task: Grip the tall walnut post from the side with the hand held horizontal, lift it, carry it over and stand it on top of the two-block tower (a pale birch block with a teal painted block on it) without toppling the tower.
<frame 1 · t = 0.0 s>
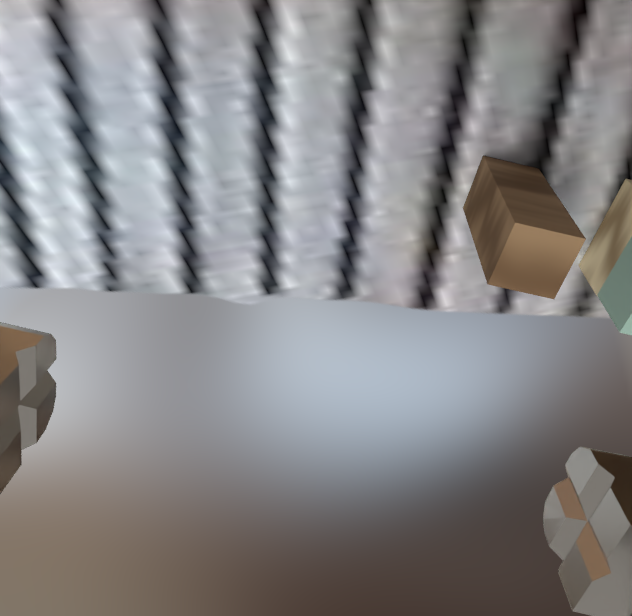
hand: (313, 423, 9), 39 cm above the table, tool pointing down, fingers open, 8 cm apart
walnut post: (499, 188, 47), on the table
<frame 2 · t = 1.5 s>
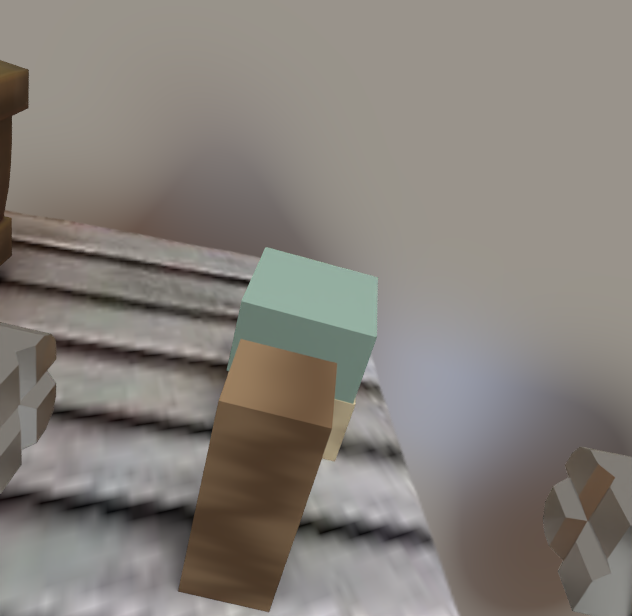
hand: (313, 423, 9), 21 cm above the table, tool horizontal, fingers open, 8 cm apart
walnut post: (232, 561, 31), on the table
lower block: (283, 409, 42), on the table, touching upper block
upper block: (298, 351, 40), point 5 cm above the table, touching lower block
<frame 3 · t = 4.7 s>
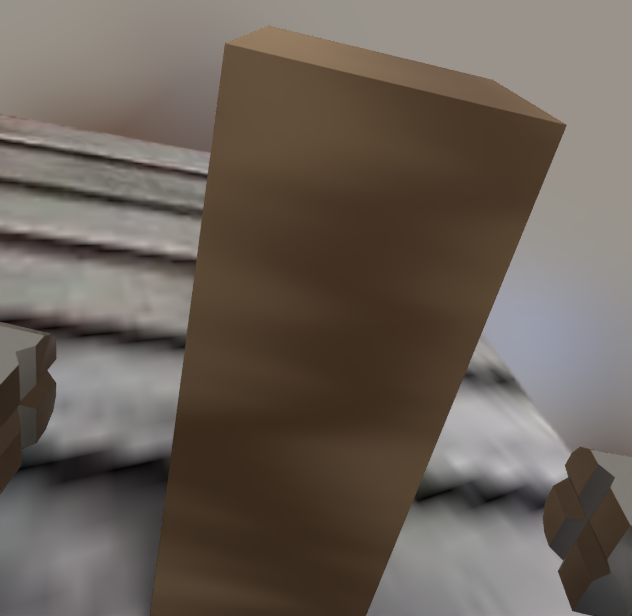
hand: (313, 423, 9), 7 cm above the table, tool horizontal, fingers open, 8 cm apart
walnut post: (262, 557, 15), on the table
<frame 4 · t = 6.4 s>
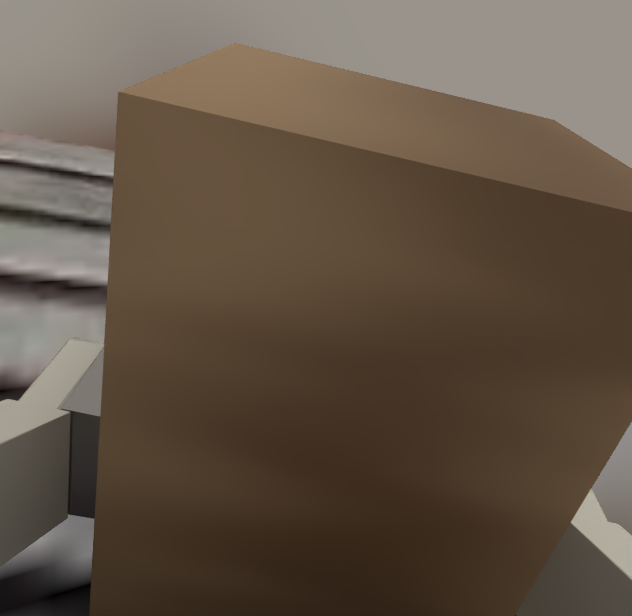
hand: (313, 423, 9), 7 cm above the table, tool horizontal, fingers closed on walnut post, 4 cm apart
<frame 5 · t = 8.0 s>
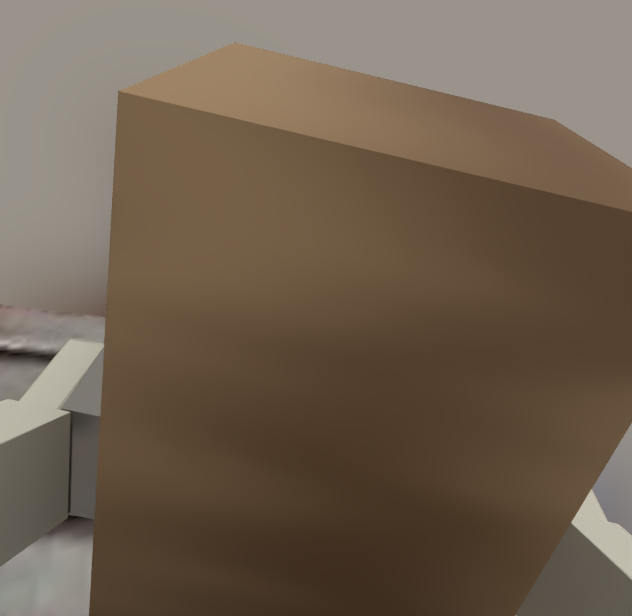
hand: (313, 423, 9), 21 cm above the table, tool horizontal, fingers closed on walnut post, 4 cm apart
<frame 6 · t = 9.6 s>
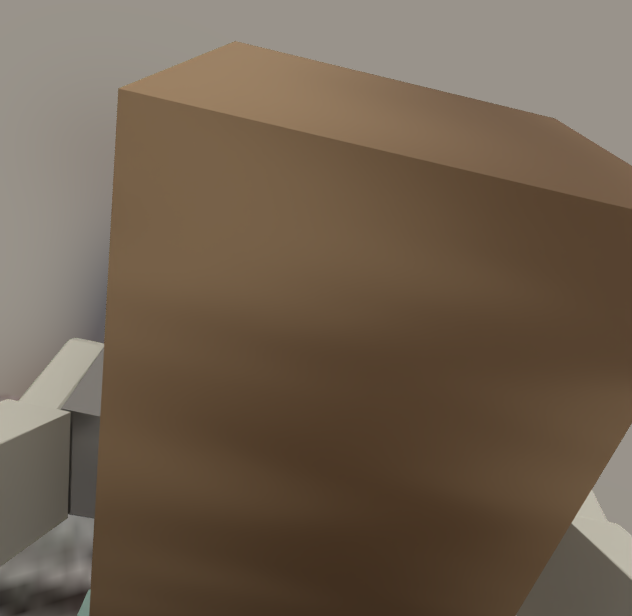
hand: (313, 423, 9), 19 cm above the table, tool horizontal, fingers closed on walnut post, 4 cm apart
when the fingers open (18 cm above the table, at t = 10.2 s): walnut post drops 1 cm, resting on upper block.
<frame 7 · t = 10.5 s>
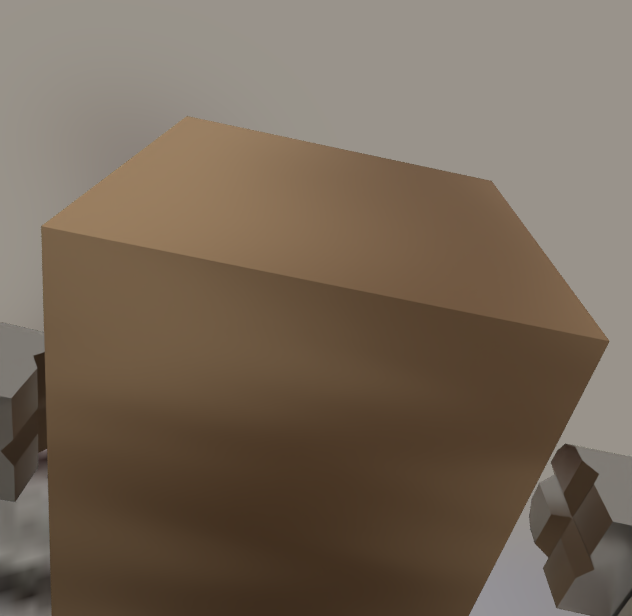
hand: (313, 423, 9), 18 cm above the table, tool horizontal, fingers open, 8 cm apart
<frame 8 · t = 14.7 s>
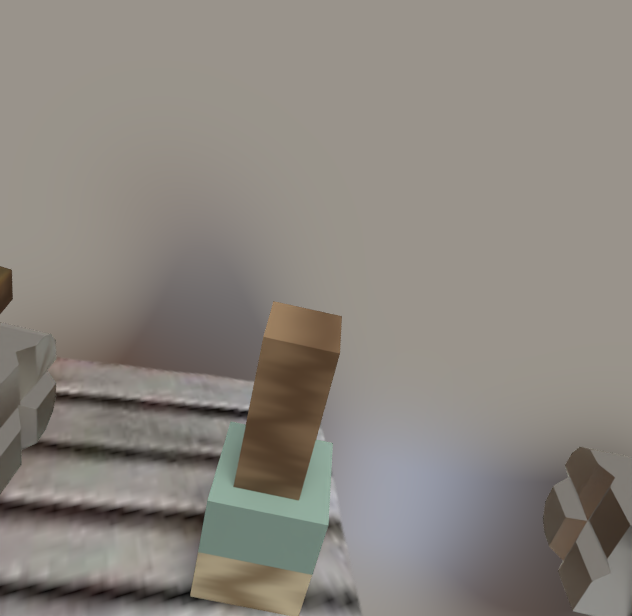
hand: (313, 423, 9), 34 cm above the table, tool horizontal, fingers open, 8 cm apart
walnut post: (270, 470, 42), point 10 cm above the table, touching upper block
lower block: (252, 561, 47), on the table, touching upper block
upper block: (263, 518, 44), point 5 cm above the table, touching lower block, walnut post
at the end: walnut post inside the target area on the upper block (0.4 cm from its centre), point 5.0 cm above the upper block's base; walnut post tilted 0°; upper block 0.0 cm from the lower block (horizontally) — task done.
